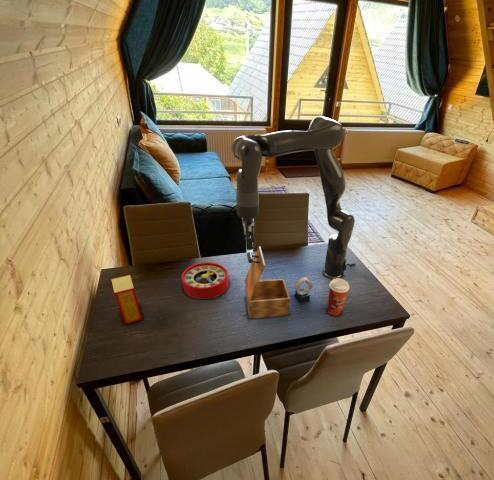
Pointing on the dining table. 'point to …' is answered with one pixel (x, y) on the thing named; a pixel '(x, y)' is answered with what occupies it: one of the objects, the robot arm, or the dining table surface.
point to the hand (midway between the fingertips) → (248, 243)
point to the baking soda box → (126, 299)
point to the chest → (269, 299)
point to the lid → (254, 271)
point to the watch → (303, 290)
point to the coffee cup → (337, 296)
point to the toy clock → (205, 280)
